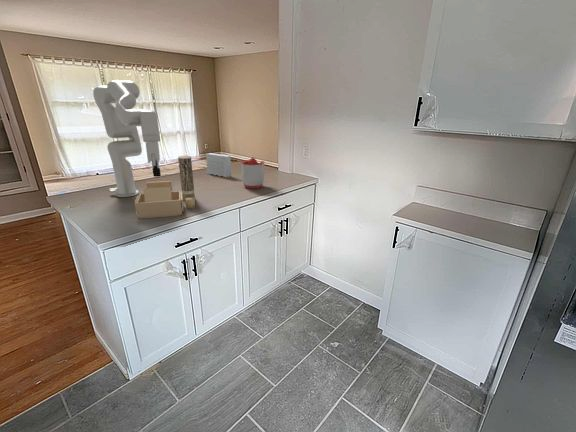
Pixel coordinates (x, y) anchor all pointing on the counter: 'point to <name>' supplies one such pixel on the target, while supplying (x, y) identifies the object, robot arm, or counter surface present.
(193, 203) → the white-capped tan cylinder
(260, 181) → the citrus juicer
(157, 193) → the near flap
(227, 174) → the skincare box
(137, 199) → the carton
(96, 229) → the counter surface
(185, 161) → the paper tube
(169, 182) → the far flap
